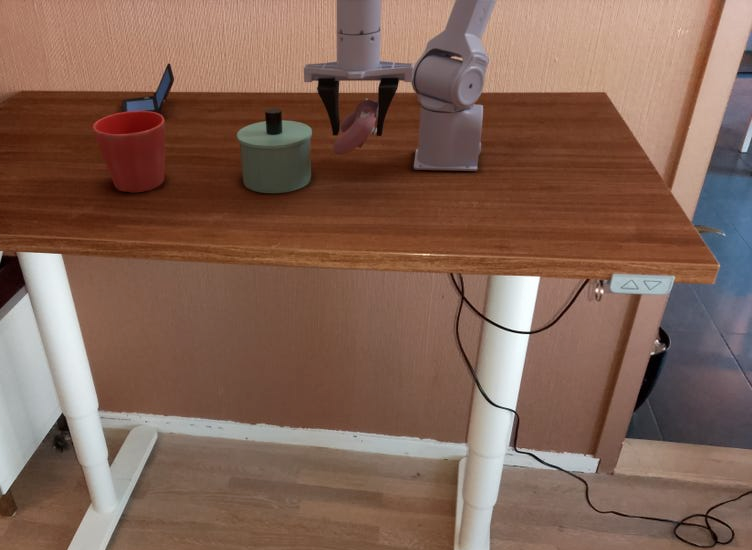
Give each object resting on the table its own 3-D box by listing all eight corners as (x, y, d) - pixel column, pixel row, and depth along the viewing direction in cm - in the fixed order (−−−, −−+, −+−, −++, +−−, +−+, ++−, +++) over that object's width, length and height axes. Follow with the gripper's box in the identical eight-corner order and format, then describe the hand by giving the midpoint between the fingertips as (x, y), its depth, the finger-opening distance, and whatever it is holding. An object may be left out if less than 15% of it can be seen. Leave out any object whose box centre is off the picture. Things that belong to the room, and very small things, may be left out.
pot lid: (305, 124, 112) (304, 96, 110) (318, 148, 103) (318, 118, 101) (233, 131, 111) (231, 103, 109) (241, 156, 102) (239, 126, 100)
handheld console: (122, 105, 148) (116, 67, 144) (174, 99, 149) (170, 61, 145) (123, 123, 138) (116, 83, 134) (179, 117, 139) (174, 77, 135)
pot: (304, 164, 116) (302, 121, 112) (316, 189, 107) (315, 143, 103) (240, 171, 115) (236, 128, 111) (247, 196, 106) (243, 151, 102)
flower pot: (117, 203, 107) (104, 139, 101) (96, 179, 115) (84, 119, 109) (183, 187, 111) (175, 124, 105) (158, 165, 119) (149, 105, 113)
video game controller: (359, 166, 99) (383, 121, 95) (329, 152, 99) (352, 105, 95) (366, 141, 107) (388, 98, 103) (338, 128, 107) (359, 84, 103)
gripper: (298, 38, 92) (302, 142, 100) (413, 36, 89) (407, 144, 97) (307, 25, 98) (310, 125, 106) (416, 24, 95) (410, 126, 103)
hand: (357, 133), depth 102 cm, fingers closed on video game controller, 5 cm apart
